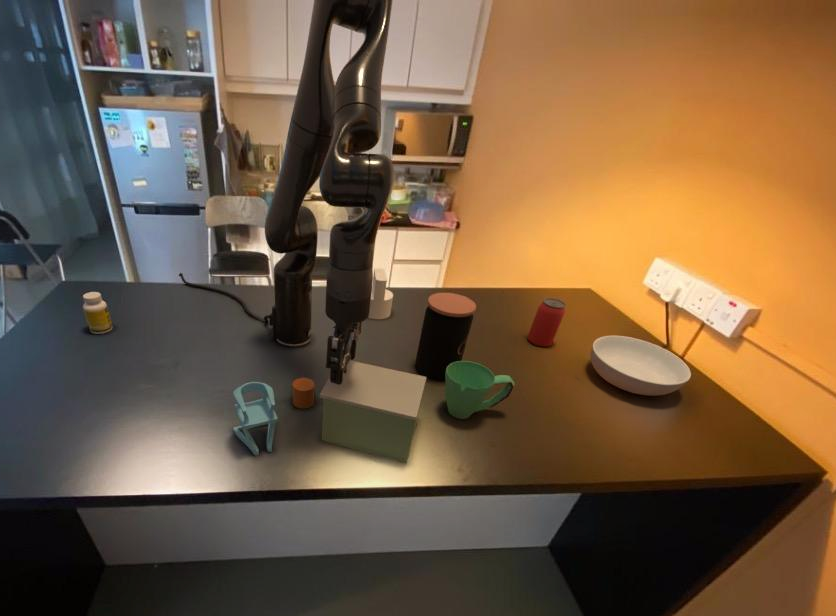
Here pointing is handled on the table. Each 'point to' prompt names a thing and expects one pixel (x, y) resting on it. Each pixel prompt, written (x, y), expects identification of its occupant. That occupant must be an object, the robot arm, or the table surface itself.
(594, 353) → the serving bowl
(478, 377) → the mug
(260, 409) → the chair
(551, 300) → the beer can
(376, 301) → the base with upright slab
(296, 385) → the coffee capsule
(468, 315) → the coffee jar
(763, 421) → the table surface
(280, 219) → the robot arm
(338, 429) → the pale green hollow box
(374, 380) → the box lid
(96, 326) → the supplement bottle
